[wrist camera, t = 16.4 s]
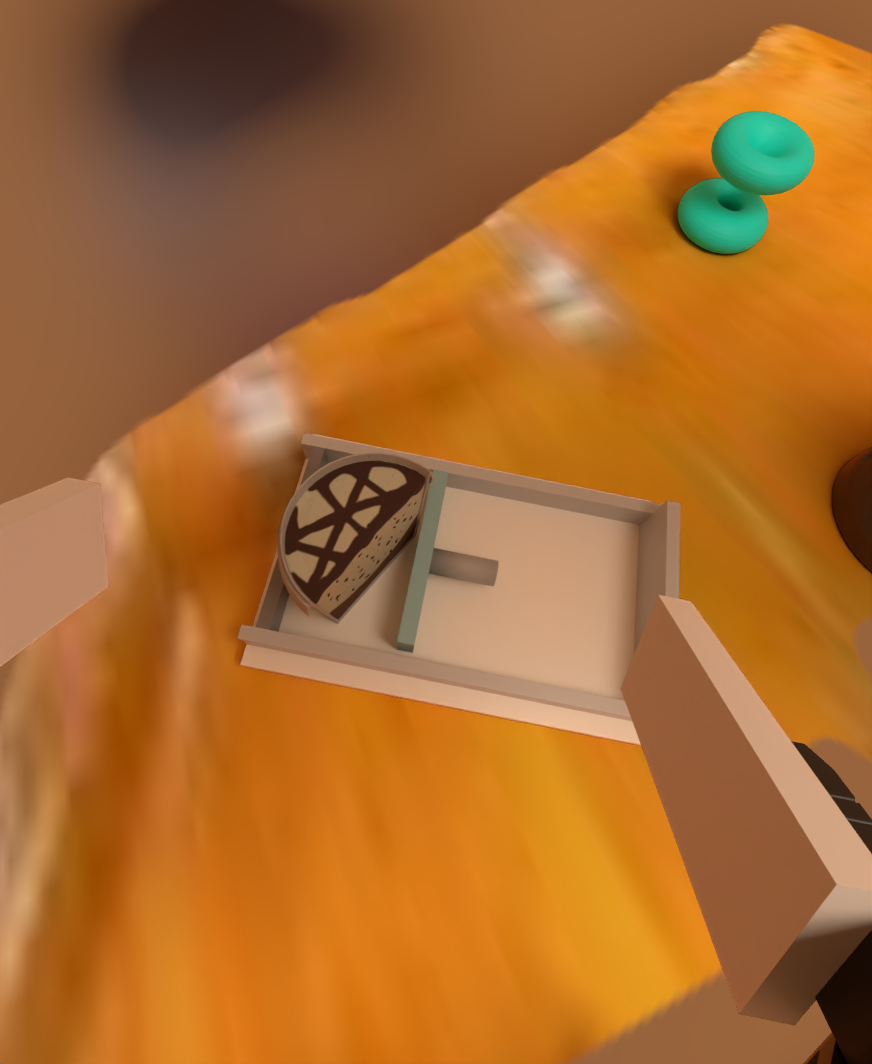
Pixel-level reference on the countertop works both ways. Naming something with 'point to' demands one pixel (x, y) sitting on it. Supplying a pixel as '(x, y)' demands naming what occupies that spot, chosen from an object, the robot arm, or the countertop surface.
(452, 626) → the pusher lane
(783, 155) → the donuts
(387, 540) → the food container
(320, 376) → the countertop surface
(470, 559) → the pusher paddle
